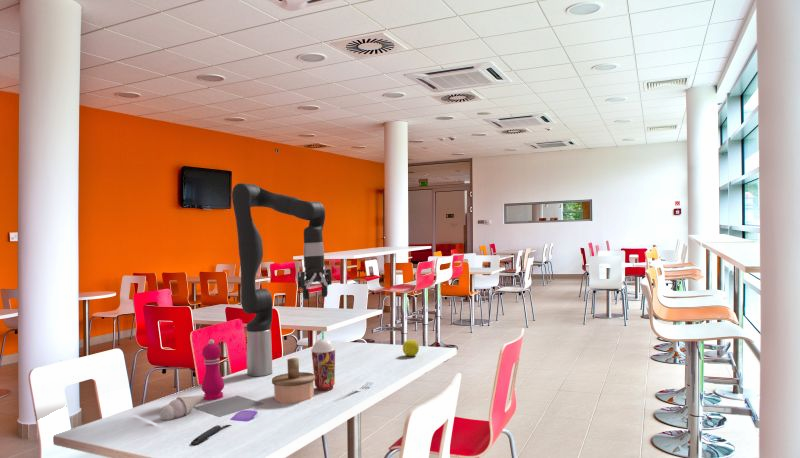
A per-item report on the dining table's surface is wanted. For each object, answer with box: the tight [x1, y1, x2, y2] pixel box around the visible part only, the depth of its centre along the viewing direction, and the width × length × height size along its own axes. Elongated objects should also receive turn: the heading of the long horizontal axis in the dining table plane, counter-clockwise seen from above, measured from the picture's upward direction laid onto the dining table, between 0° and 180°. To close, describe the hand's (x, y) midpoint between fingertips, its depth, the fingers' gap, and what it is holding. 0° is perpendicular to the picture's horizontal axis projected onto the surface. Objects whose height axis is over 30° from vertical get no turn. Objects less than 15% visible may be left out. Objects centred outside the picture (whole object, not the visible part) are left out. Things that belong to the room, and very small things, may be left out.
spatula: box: [190, 409, 259, 446], centre depth 159 cm, size 24×7×2 cm, turn 157°
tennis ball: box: [402, 339, 420, 357], centre depth 246 cm, size 7×7×7 cm
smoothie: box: [311, 330, 336, 392], centre depth 199 cm, size 8×8×20 cm
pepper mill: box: [201, 338, 225, 401], centre depth 191 cm, size 7×7×20 cm
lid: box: [271, 357, 315, 386], centre depth 188 cm, size 14×14×7 cm
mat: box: [193, 395, 266, 418], centre depth 181 cm, size 16×16×1 cm
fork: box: [332, 381, 374, 403], centre depth 190 cm, size 3×24×2 cm, turn 148°
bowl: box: [273, 381, 315, 404], centre depth 187 cm, size 12×12×6 cm
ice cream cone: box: [159, 395, 206, 421], centre depth 174 cm, size 6×6×15 cm
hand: (315, 298), depth 213 cm, fingers open, 8 cm apart
